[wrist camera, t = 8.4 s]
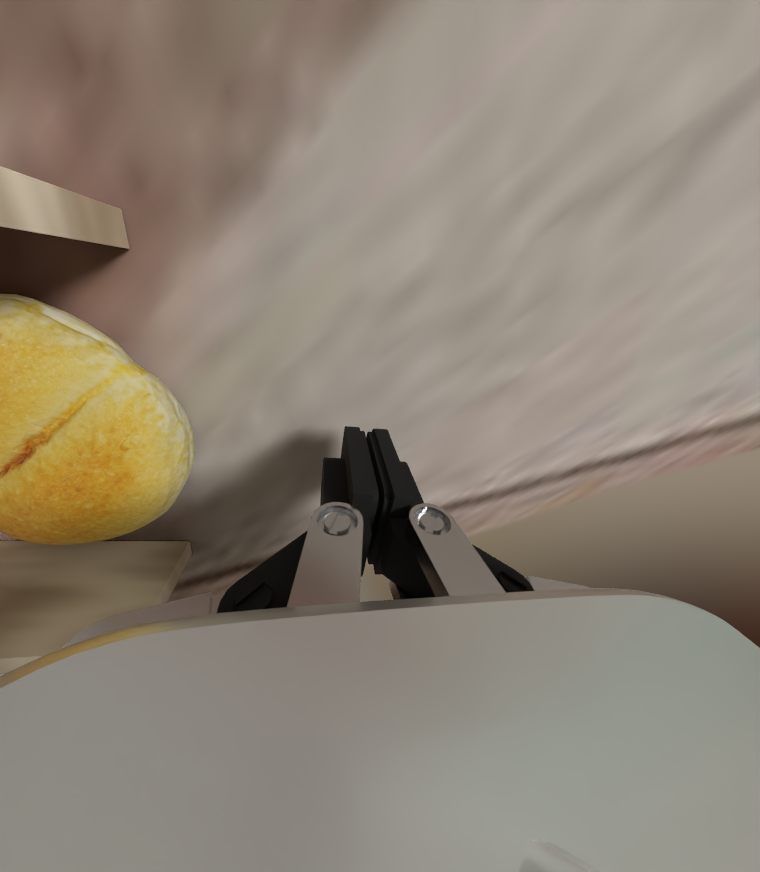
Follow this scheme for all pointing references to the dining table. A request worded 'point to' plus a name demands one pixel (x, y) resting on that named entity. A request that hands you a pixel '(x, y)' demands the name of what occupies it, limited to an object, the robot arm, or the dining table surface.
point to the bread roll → (81, 431)
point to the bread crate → (87, 562)
